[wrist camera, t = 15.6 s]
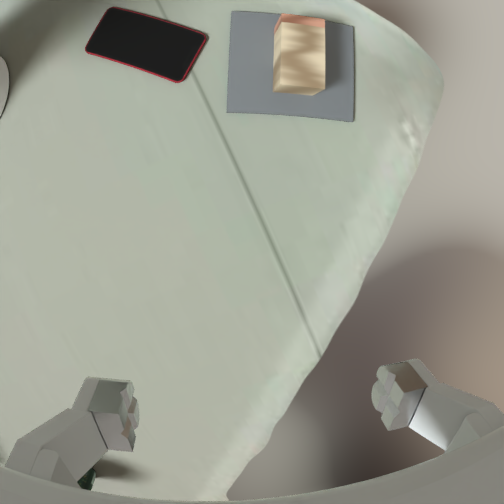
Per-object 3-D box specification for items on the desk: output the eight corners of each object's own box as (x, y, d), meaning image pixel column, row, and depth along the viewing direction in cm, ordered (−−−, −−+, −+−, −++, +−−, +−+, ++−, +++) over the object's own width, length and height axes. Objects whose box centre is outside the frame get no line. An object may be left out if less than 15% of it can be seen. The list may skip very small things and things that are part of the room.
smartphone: (109, 5, 29) (208, 35, 33) (111, 7, 30) (208, 37, 33) (82, 51, 31) (181, 84, 34) (85, 53, 32) (181, 85, 35)
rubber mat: (226, 112, 36) (226, 112, 36) (231, 12, 32) (231, 11, 32) (351, 122, 38) (353, 121, 38) (351, 27, 34) (352, 26, 33)
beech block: (280, 84, 31) (281, 13, 28) (272, 92, 36) (274, 27, 33) (325, 89, 31) (324, 19, 29) (312, 95, 36) (312, 32, 33)
